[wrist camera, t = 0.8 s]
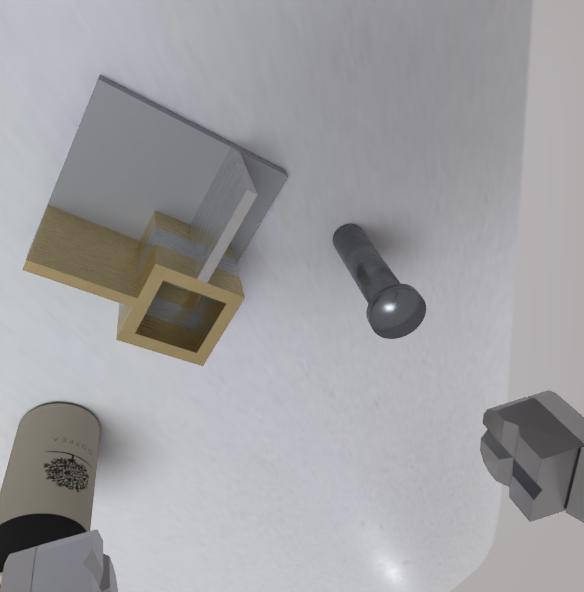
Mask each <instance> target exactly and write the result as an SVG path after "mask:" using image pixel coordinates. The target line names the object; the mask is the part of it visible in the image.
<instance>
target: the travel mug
mask: <svg viewBox="0 0 584 592" xmlns="http://www.w3.org/2000/svg"><path fill="white" fill-rule="evenodd" d="M99 438H100V426H99V423H98V421H97V419H96V418H95V417H94V416H93V415H92V414H91V413H90V412H88V411H87V410H85V409H83V408H81V407H78V406H75V405H71V404H63V403H56V404H48V405H43V406H40V407H37V408H35V409H33V410H31V411H30V412H28V413H27V414H26V415H25V416H24V417H23V418H22V419H21V421H20V423H19V426H18V429H17V433H16V437H15V440H14V444H13V448H12V451H11V455H10V459H9V462H8V466H7V470H6V473H5V477H4V481H3V484H2V488H1V492H0V586H1V581H2V575H3V569H4V564H5V562H6V560H7V558H8V556H9V554H12V553H15V552H19V551H22V550H26V549H29V548H33V547H36V546H39V545H42V544H46V543H49V542H53V541H56V540H60V539H64V538H67V537H71V536H74V535H78V534H82V533H85V532H89V531H90V526H91V516H92V506H93V497H94V487H95V477H96V467H97V458H98V448H99Z"/></svg>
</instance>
